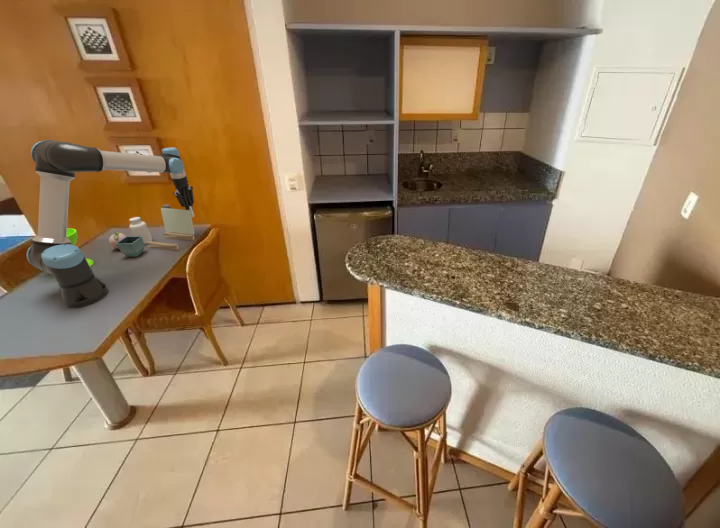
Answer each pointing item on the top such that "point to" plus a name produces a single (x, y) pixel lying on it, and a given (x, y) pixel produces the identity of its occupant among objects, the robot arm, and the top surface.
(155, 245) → the tan wooden pieces
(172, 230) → the panel
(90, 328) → the top surface
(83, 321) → the top surface
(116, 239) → the decorative fruit
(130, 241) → the flower pot
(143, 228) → the pill bottle
